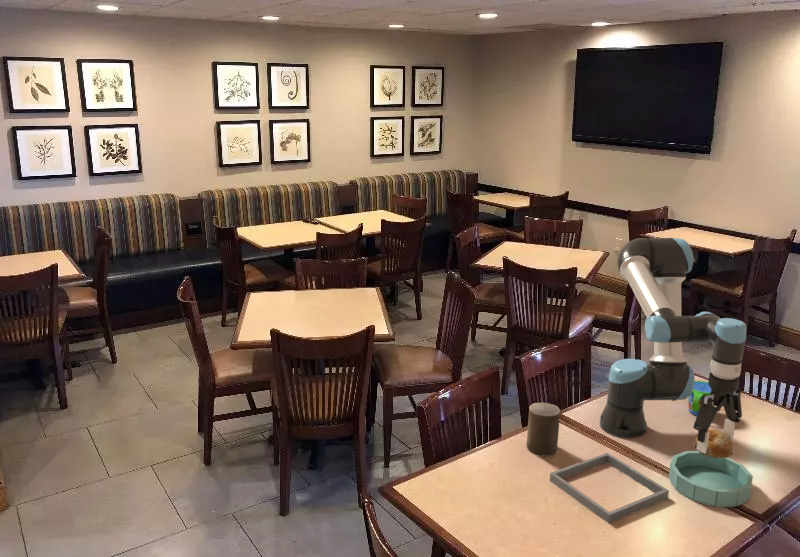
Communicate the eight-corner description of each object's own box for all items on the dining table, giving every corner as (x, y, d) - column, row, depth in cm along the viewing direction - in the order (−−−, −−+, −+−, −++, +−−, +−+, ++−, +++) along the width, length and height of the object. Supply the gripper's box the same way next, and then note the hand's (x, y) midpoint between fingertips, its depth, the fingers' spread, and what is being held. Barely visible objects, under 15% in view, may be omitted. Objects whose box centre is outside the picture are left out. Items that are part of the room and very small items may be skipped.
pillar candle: (544, 459, 206) (548, 415, 202) (520, 446, 213) (523, 404, 209) (563, 448, 212) (567, 406, 208) (538, 437, 219) (541, 395, 215)
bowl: (653, 477, 196) (655, 462, 194) (700, 458, 206) (702, 444, 204) (717, 516, 178) (720, 499, 177) (765, 493, 188) (768, 478, 187)
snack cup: (694, 401, 244) (697, 375, 241) (723, 410, 237) (727, 384, 234) (675, 415, 234) (679, 388, 231) (706, 425, 226) (709, 398, 224)
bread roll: (728, 472, 184) (745, 450, 182) (694, 454, 185) (711, 432, 182) (719, 454, 194) (735, 433, 191) (687, 437, 194) (702, 416, 192)
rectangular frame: (549, 480, 194) (550, 472, 194) (606, 460, 205) (607, 452, 205) (608, 523, 175) (609, 515, 174) (667, 498, 186) (668, 490, 185)
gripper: (709, 388, 174) (699, 462, 180) (763, 371, 185) (752, 441, 191) (684, 378, 180) (675, 450, 186) (738, 361, 191) (728, 430, 197)
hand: (714, 446), depth 188 cm, fingers closed on bread roll, 11 cm apart
